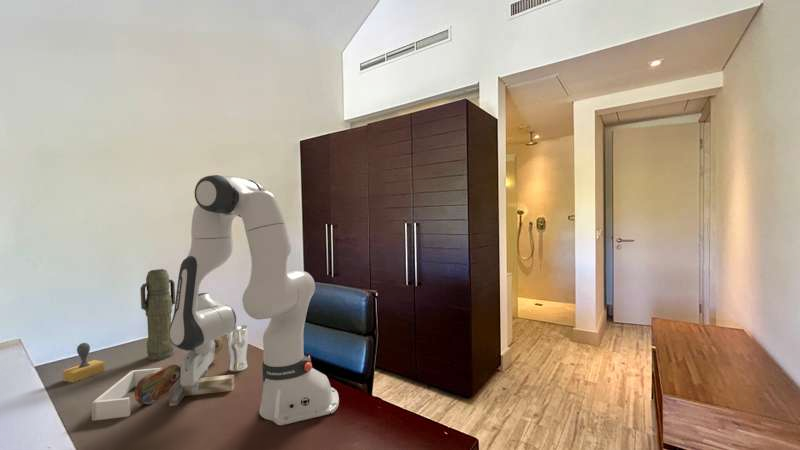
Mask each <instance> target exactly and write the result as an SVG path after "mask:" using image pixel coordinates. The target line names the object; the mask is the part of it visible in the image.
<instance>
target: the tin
mask: <svg viewBox="0 0 800 450" xmlns="http://www.w3.org/2000/svg"><path fill="white" fill-rule="evenodd" d="M159 368H160V369H158V370H156V371H154V372H152V373H150V374H148V375H146V376H145V377H143V378H142V379H141V380H140V381H139V382H138V384H137V386H135V387H134V388H135V389H134V396H135V397H134V398H135V400H136V402H137V403H138V404H141V405H152V404H154V403H157V402H158V401H159V400H161V399H162V398H165V396H167V395H169V389H170V388H171V387H172V386H173V385H174V383H175V382H176V381H177V380H178V379H179V378H180V376H181V366H179V365H178V364H166V365H164V366H162V367H159Z"/></svg>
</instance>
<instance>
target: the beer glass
mask: <svg viewBox="0 0 800 450" xmlns="http://www.w3.org/2000/svg"><path fill="white" fill-rule="evenodd" d="M226 339H227V341H226V342H227V343H226V344H227V345H226V346H227V348H228V350H227V351H228V353H229V357H230V358H229V359H230V360H229V361H230V365H229V371H230V372H234V373H235V372H241V371H245V370H246V369H247V368H248V366H249V365H248V361H247V351H248V345H249V334H248V326H247V325H245V324H244V325H242V324H241V325H240V324H239V325H235V328H234V330H233V331H232V332H231V333H229V334H227V335H226Z"/></svg>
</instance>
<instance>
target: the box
mask: <svg viewBox="0 0 800 450" xmlns="http://www.w3.org/2000/svg"><path fill="white" fill-rule="evenodd" d="M160 368H161V367H155V368H144V369H135V370H130V371H129V372H127V374H126V375H125V376H123V377H121V378H120V380H118V381H117V382H116V383H115V384H113V385H112V386H110V388H108V389H107V390H106V391H105V392H103V393H102V394H101V395H100V396H98V397H97V398H96V399H95V400H93V401H92V402H91V405H90V407H91V421H102V420H109V419H110V420H111V419H118V418H128V417H130V416H131V415H132V414H131V412H132V411H131V397H130V396H129V397H124V396H125V395H126V394H128V392H130V391H131V390H132V389H134V388H135V387H136V386H137V384H138V382H139V381H140V380H141V379H142V378H143V377H145V376H146V375H148V374H150V373H152V372H154V371H156V370H158V369H160Z"/></svg>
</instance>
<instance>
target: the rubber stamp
mask: <svg viewBox="0 0 800 450" xmlns="http://www.w3.org/2000/svg"><path fill="white" fill-rule="evenodd" d="M90 351H91V346H90V344H89V343H87V342H82V343H80V344H78V346H77V348H76V352H77V355H78V357H80V360H81V363H80V364H78V365H76V366H73V367H69V368H67V369H64V370H63V371H62V378H63V380H65V381H69V382H68V383H70V382H75V383H77V382H80V381H83V380H86V379H88V378H90V377H94V376H96V375H98V374H101V373H103V372H106V362H105V361H103V360H97V359H93V360H90V361H87V358H88V356H89V352H90ZM82 379H83V380H82ZM63 380H62V381H63ZM79 380H80V381H79ZM65 381H64V382H65ZM76 381H77V382H76Z"/></svg>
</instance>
